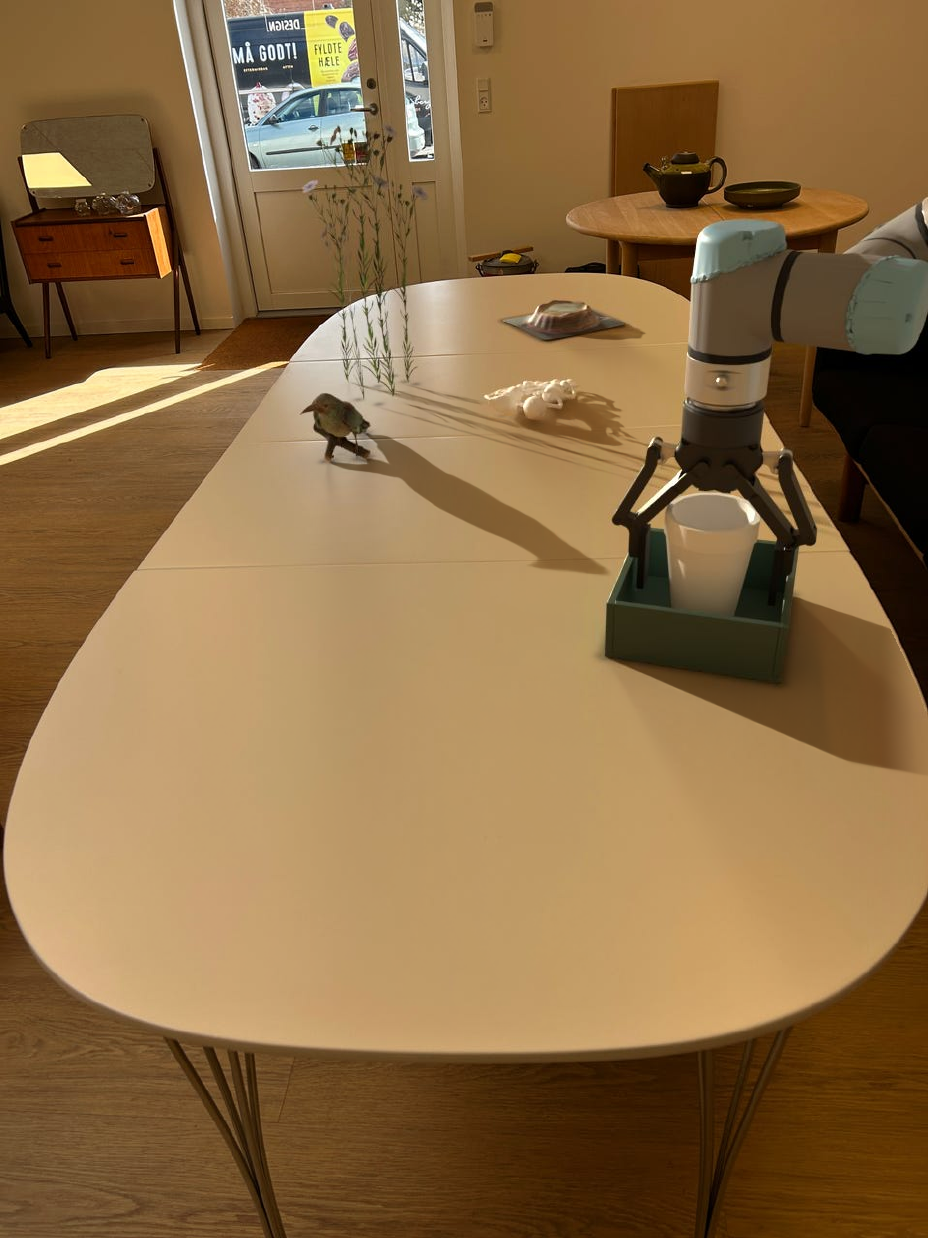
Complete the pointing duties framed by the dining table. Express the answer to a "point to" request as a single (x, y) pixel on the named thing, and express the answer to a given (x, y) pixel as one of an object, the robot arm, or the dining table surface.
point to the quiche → (563, 320)
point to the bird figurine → (338, 424)
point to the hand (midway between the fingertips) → (705, 591)
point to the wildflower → (380, 184)
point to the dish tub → (701, 620)
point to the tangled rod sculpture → (532, 405)
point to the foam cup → (709, 550)
